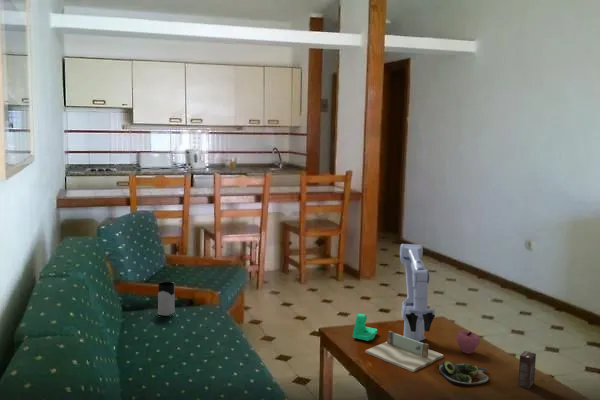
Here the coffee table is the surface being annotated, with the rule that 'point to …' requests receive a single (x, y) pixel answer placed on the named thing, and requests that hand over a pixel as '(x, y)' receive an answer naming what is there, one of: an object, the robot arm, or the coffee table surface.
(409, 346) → the door
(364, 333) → the camera mount
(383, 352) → the door frame board
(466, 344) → the apple
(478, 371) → the salad plate
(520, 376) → the box
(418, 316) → the robot arm
